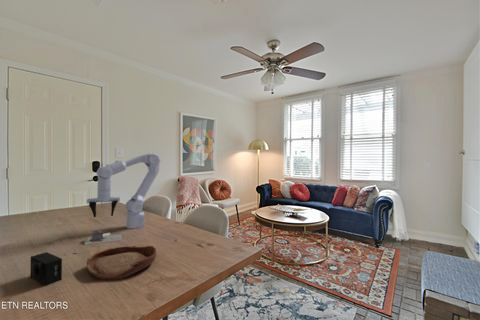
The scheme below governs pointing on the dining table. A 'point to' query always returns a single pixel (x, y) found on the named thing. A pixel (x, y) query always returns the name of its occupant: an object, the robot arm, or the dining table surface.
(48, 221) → the dining table surface
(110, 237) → the flange plate
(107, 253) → the basket
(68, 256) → the dining table surface
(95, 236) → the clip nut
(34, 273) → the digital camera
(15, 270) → the dining table surface
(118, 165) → the robot arm
